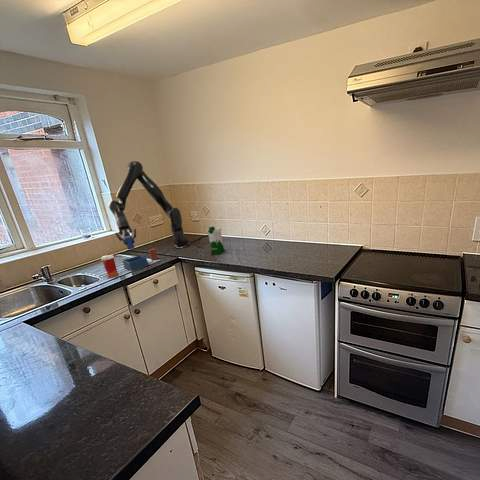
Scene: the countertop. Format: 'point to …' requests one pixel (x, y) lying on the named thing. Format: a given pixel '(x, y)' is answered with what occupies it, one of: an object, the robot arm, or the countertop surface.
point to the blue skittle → (129, 242)
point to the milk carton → (215, 240)
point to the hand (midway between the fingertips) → (129, 243)
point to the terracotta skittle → (153, 254)
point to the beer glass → (109, 265)
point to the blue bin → (135, 262)
